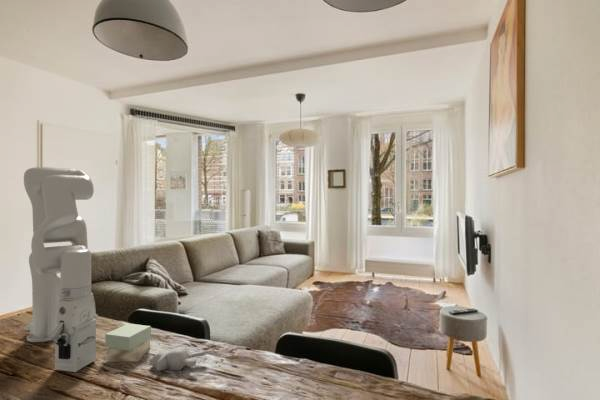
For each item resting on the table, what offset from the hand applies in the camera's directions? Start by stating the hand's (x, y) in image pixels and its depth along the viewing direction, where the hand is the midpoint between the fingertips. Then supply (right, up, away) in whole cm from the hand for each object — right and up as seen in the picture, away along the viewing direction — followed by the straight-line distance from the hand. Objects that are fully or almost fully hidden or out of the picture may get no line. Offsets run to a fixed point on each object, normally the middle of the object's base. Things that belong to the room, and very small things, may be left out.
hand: (76, 351), depth 98 cm
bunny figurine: (+30, -4, -1) cm, 30 cm away
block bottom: (+12, -4, +7) cm, 15 cm away
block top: (+12, 0, +7) cm, 14 cm away
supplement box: (0, -4, 0) cm, 4 cm away
